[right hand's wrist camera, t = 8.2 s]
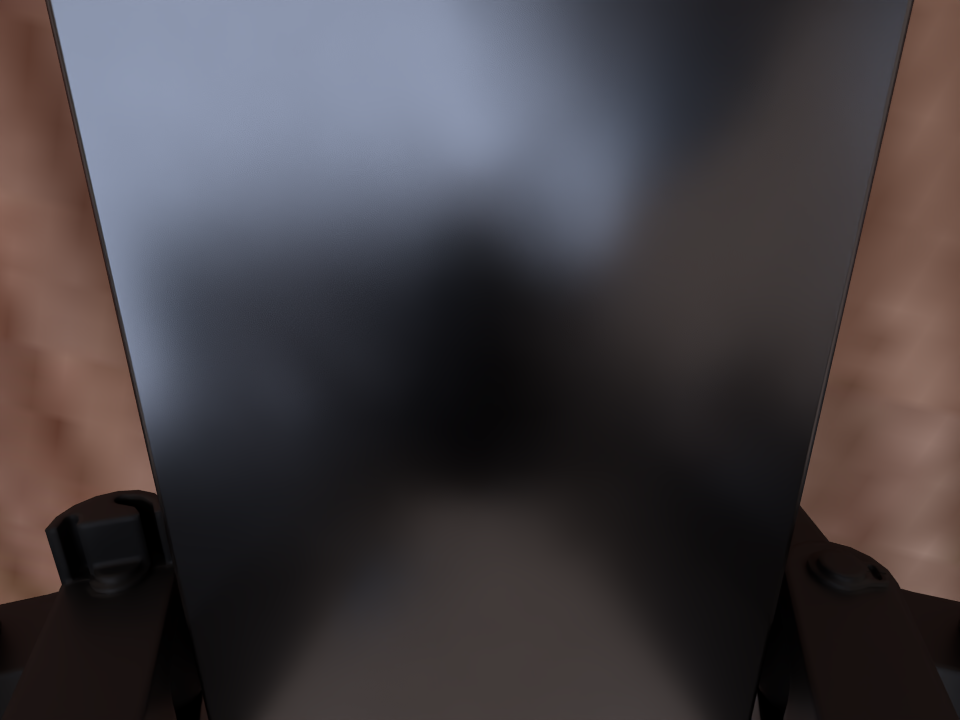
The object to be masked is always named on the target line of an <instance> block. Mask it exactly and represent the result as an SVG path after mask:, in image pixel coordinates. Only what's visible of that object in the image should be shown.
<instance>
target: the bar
mask: <svg viewBox="0 0 960 720" xmlns="http://www.w3.org/2000/svg"><path fill="white" fill-rule="evenodd" d="M45 2H46V6H47V11H48V15H49V19H50V24H51V28H52V33H53V37H54V41H55V46H56V50H57V55H58V59H59V63H60V68H61V72H62V77H63V81H64V86H65V90H66V94H67V99H68V103H69V108H70V112H71V116H72V121H73V125H74V130H75V134H76V138H77V143H78V147H79V152H80V156H81V161H82V165H83V169H84V174H85V178H86V183H87V187H88V191H89V196H90V200H91V205H92V209H93V213H94V218H95V222H96V227H97V231H98V236H99V240H100V244H101V249H102V253H103V258H104V262H105V266H106V271H107V275H108V280H109V284H110V288H111V293H112V297H113V302H114V306H115V311H116V315H117V319H118V324H119V328H120V333H121V337H122V341H123V346H124V350H125V355H126V359H127V363H128V368H129V372H130V377H131V381H132V386H133V390H134V394H135V399H136V403H137V408H138V412H139V416H140V421H141V425H142V430H143V434H144V438H145V443H146V447H147V452H148V456H149V461H150V465H151V469H152V474H153V478H154V483H155V487H156V491H157V496H158V500H159V505H160V509H161V513H162V518H163V522H164V527H165V531H166V536H167V540H168V544H169V549H170V553H171V558H172V562H173V566H174V571H175V575H176V580H177V584H178V588H179V593H180V597H181V602H182V606H183V611H184V615H185V619H186V624H187V628H188V633H189V637H190V641H191V646H192V650H193V655H194V659H195V663H196V668H197V672H198V677H199V681H200V685H201V690H202V694H203V699H204V703H205V708H206V712H207V716H208V720H751V718H752V713H753V709H754V705H755V700H756V696H757V691H758V687H759V682H760V678H761V674H762V669H763V665H764V660H765V656H766V652H767V647H768V643H769V638H770V634H771V629H772V625H773V621H774V616H775V612H776V607H777V603H778V599H779V594H780V590H781V585H782V581H783V576H784V572H785V568H786V563H787V559H788V554H789V550H790V546H791V541H792V537H793V532H794V528H795V523H796V519H797V515H798V510H799V506H800V501H801V497H802V493H803V488H804V484H805V479H806V475H807V470H808V466H809V462H810V457H811V453H812V448H813V444H814V440H815V435H816V431H817V426H818V422H819V418H820V413H821V409H822V404H823V400H824V395H825V391H826V387H827V382H828V378H829V373H830V369H831V365H832V360H833V356H834V351H835V347H836V342H837V338H838V334H839V329H840V325H841V320H842V316H843V312H844V307H845V303H846V298H847V294H848V289H849V285H850V281H851V276H852V272H853V267H854V263H855V259H856V254H857V250H858V245H859V241H860V236H861V232H862V228H863V223H864V219H865V214H866V210H867V206H868V201H869V197H870V192H871V188H872V183H873V179H874V175H875V170H876V166H877V161H878V157H879V153H880V148H881V144H882V139H883V135H884V131H885V126H886V122H887V117H888V113H889V108H890V104H891V100H892V95H893V91H894V86H895V82H896V78H897V73H898V69H899V64H900V60H901V55H902V51H903V47H904V42H905V38H906V33H907V29H908V25H909V20H910V16H911V11H912V7H913V2H914V0H45Z"/></svg>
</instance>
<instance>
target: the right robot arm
mask: <svg viewBox="0 0 960 720" xmlns="http://www.w3.org/2000/svg"><path fill="white" fill-rule="evenodd" d="M45 532H46V535H47V538H48V541H49V545H50V548H51V551H52V554H53V557H54V560H55V564H56V567H57V570H58V573H59V576H60V580H61V583H62V586H61V588H60V590H59V592H55V593H52V594H48V595H43V596H39V597H34V598H29V599H25V600H20V601H15V602H11V603H6V604H1V605H0V720H208V716H207V712H206V708H205V703H204V699H203V694H202V690H201V685H200V681H199V677H198V672H197V668H196V663H195V659H194V655H193V650H192V646H191V641H190V637H189V633H188V628H187V624H186V619H185V615H184V611H183V606H182V602H181V597H180V593H179V588H178V584H177V580H176V575H175V571H174V566H173V562H172V558H171V553H170V549H169V544H168V540H167V536H166V531H165V527H164V522H163V518H162V513H161V509H160V505H159V500H158V496H157V495H156V494H155V493H151V492H146V491H141V490H129V491H117V492H112V493H108V494H104V495H100V496H96V497H93V498H91V499H88V500H86V501H83V502H81V503H79V504H76V505H74V506H72V507H71V508H69V509H68V510H66V511H65V512H63V513H62V514H60V515H59V516H57V517H56V518H55V519H54V520H53V521H52V522H51V524H50V525H49V526H48V527H47V528H46V529H45ZM751 720H960V602H958V601H953V600H948V599H944V598H939V597H934V596H929V595H925V594H920V593H915V592H911V591H907V590H904V589H900V587H899V584H898V583H897V581H896V580H895V579H894V577H893V576H892V575H891V573H890V572H889V571H888V570H887V569H886V568H885V567H884V566H882V565H881V564H880V563H878V562H877V561H876V560H874V559H873V558H872V557H870V556H868V555H866V554H863V553H861V552H859V551H857V550H855V549H853V548H851V547H848V546H844V545H840V544H836V543H833V542H829V541H828V540H827V538H826V537H825V536H824V535H823V533H822V532H821V531H820V530H819V528H818V527H817V526H816V525H815V523H814V522H813V521H812V520H811V519H810V517H809V516H808V515H807V514H806V512H805V511H804V510H803V509H802V507H801V506H799V510H798V515H797V519H796V523H795V528H794V532H793V537H792V541H791V546H790V550H789V554H788V559H787V563H786V568H785V572H784V576H783V581H782V585H781V590H780V594H779V599H778V603H777V607H776V612H775V616H774V621H773V625H772V629H771V634H770V638H769V643H768V647H767V652H766V656H765V660H764V665H763V669H762V674H761V678H760V682H759V687H758V691H757V696H756V700H755V705H754V709H753V713H752V718H751Z"/></svg>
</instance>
